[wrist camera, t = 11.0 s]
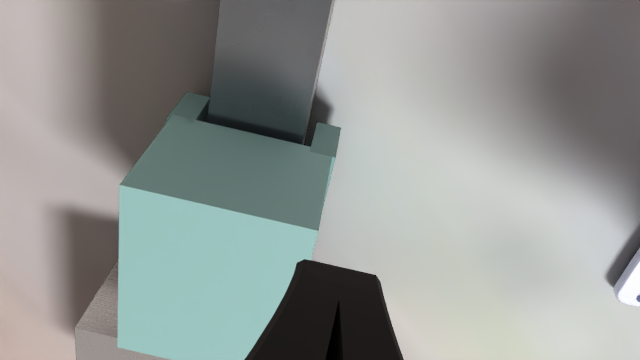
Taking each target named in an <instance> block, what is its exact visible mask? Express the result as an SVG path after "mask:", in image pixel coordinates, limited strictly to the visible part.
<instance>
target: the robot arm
mask: <svg viewBox="0 0 640 360" xmlns="http://www.w3.org/2000/svg"><path fill="white" fill-rule="evenodd" d="M614 293H615V296H616V298H617V299H618V300H619V301H620V302H622V303H625V304H629V305H634V306H638V307H640V295H639V294H640V248H639V249H638V251H637V252H636V254H635V255H634V257H633V258H632V260H631V261H630V263H629V264H628V266H627V267H626V269H625V271H624V272H623V274H622V275H621V277H620V278H619V280H618V281H617V283H616V284H615V286H614ZM244 360H404V359H403V357H402V354H401V351H400V348H399V345H398V342H397V339H396V336H395V333H394V330H393V327H392V324H391V321H390V317H389V314H388V310H387V307H386V303H385V300H384V296H383V292H382V287H381V283H380V281H379V279H378V278H377V276H376V275H373V274H368V273H364V272H360V271H355V270H351V269H346V268H342V267H337V266H333V265H329V264H324V263H320V262H315V261H311V260H306V259H304V260H302V261H300V262H297V264H296V268H295V271H294V274H293V277H292V279H291V282H290V284H289V286H288V288H287V291H286V293H285V295H284V297H283V299H282V300H281V302H280V304H279V306H278V308H277V309H276V311H275V313H274V315H273V316H272V318H271V320H270V321H269V323H268V324H267V326H266V328H265V329H264V331H263V332H262V334H261V335H260V337H259V339H258V340H257V342H256V343H255V345H254V346H253V348H252V349H251V351H250V352H249V354H248V355H247V357H246V358H245V359H244Z"/></svg>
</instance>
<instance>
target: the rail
mask: <svg viewBox="0 0 640 360" xmlns="http://www.w3.org/2000/svg"><path fill="white" fill-rule="evenodd" d="M334 1H335V0H220V7H219V17H218V26H217V36H216V45H215V54H214V64H213V73H212V83H211V92H210V102H209V111H208V120H207V123H211V124H215V125H219V126H224V127H228V128H232V129H237V130H241V131H245V132H249V133H254V134H258V135H262V136H267V137H271V138H275V139H279V140H284V141H288V142H292V143H296V144H301V145H304V141H305V137H306V132H307V127H308V123H309V118H310V113H311V109H312V104H313V99H314V95H315V90H316V85H317V81H318V76H319V71H320V67H321V62H322V57H323V53H324V48H325V43H326V39H327V34H328V29H329V25H330V20H331V15H332V11H333V6H334Z"/></svg>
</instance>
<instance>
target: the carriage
mask: <svg viewBox="0 0 640 360" xmlns="http://www.w3.org/2000/svg"><path fill="white" fill-rule="evenodd" d="M209 102H210V97H207V96H203V95H199V94H194V93H190V92H186V93H185V95H184V96H183V97H182V99H181V100H180V101H179V102H178V104H177V105H176V106H175V108H174V109H173V110H172V112H171V113H170V114H169V115H168V117H167V118H166V124H165V126H164V127H163V128H162V130H161V131H160V132H159V134H158V135H157V136H156V138H155V139H154V140H153V141H152V143H151V144H150V145H149V147H148V148H147V149H146V151H145V152H144V153H143V155H142V156H141V157H140V159H139V160H138V161H137V163H136V164H135V165H134V166H133V168H132V169H131V170H130V172H129V173H128V174H127V176H126V177H125V178H124V180H123V181H122V182H121V184H120V188H119V263H118V339H117V347H118V348H122V349H127V350H131V351H136V352H140V353H144V354H149V355H153V356H158V357H162V358H166V359H171V360H244V359H245V358H246V357H247V355H248V354H249V352H250V351H251V349H252V348H253V346H254V345H255V343H256V342H257V340H258V339H259V337H260V335H261V334H262V332H263V331H264V329H265V328H266V326H267V324H268V323H269V321H270V320H271V318H272V316H273V315H274V313H275V311H276V309H277V308H278V306H279V304H280V302H281V300H282V299H283V297H284V295H285V293H286V291H287V288H288V286H289V284H290V282H291V279H292V277H293V274H294V271H295V268H296V264H297V262H300V261H302V260H304V259H306V260H311V258H312V254H313V250H314V246H315V242H316V238H317V234H318V230H319V224H320V219H321V214H322V209H323V205H324V201H325V197H326V193H327V189H328V186H329V182H330V178H331V174H332V170H333V166H334V162H335V158H336V152H337V147H338V141H339V136H340V130H341V128H340V127H335V126H331V125H327V124H323V123H318V122H317V125H316V129H315V133H314V137H313V140H312V144H311V147H309V146H305V145H301V144H296V143H292V142H288V141H284V140H279V139H275V138H271V137H267V136H262V135H258V134H254V133H249V132H245V131H241V130H237V129H232V128H228V127H224V126H219V125H215V124H211V123H207V120H208V111H209Z"/></svg>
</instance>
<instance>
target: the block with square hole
mask: <svg viewBox="0 0 640 360" xmlns="http://www.w3.org/2000/svg"><path fill="white" fill-rule="evenodd" d="M118 263H119V259H118V261H117V262H116V264H115V265H114V267H113V268H112V270H111V272H110V273H109V275H108V276H107V278H106V279H105V281H104V283H103V284H102V286H101V287H100V289H99V290H98V292H97V294H96V295H95V297H94V298H93V300H92V302H91V303H90V305H89V306H88V308H87V309H86V311H85V313H84V314H83V316H82V317H81V319H80V320H79V322H78V324H77V325H76V327H75V348H76V360H171V359H166V358H162V357H158V356H153V355H149V354H144V353H140V352H136V351H131V350H127V349H122V348H118V347H117V339H118Z"/></svg>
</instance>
